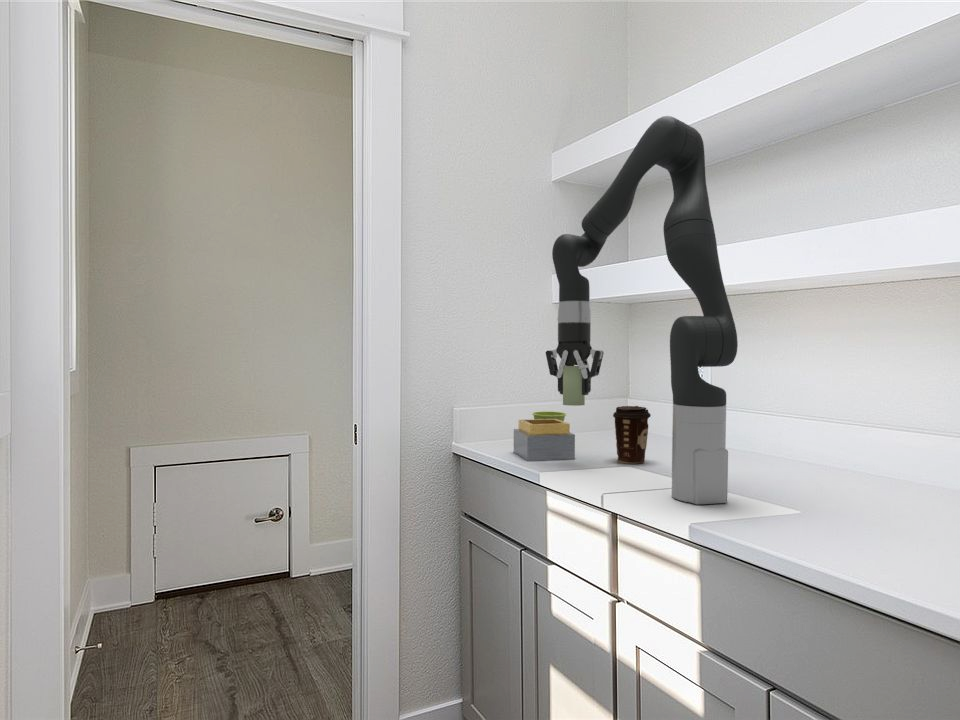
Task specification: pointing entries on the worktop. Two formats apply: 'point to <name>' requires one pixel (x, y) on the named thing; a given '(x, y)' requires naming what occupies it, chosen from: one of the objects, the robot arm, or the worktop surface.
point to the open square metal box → (544, 440)
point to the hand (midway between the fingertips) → (573, 394)
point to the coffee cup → (631, 433)
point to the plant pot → (549, 415)
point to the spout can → (572, 386)
